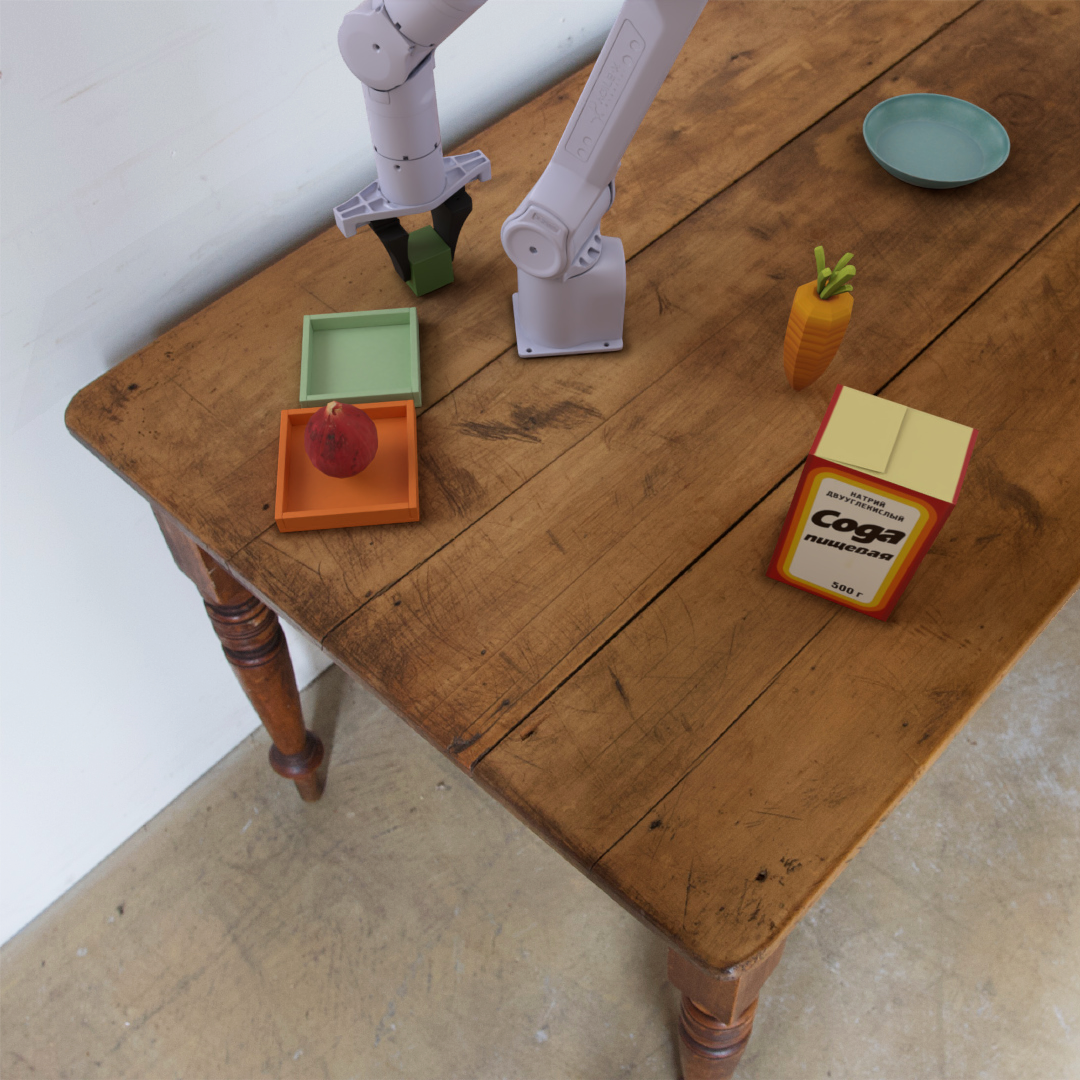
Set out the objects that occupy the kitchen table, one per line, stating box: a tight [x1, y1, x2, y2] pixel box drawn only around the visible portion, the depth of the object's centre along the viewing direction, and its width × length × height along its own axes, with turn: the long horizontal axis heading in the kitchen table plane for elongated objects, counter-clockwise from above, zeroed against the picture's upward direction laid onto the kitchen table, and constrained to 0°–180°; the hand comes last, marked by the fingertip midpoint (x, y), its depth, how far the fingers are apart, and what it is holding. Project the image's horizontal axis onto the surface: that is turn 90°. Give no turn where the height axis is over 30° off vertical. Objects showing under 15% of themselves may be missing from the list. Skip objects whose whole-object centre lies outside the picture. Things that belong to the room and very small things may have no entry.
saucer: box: [862, 92, 1011, 190], centre depth 103 cm, size 15×15×3 cm
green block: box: [405, 224, 455, 298], centre depth 93 cm, size 4×4×4 cm
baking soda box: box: [764, 383, 980, 623], centre depth 71 cm, size 10×6×16 cm
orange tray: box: [274, 400, 420, 534], centre depth 82 cm, size 11×11×2 cm
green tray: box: [299, 306, 422, 408], centre depth 88 cm, size 10×10×2 cm
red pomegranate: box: [304, 401, 378, 479], centre depth 79 cm, size 6×6×8 cm
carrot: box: [782, 245, 857, 392], centre depth 81 cm, size 5×5×15 cm
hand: (424, 265), depth 94 cm, fingers closed on green block, 4 cm apart
